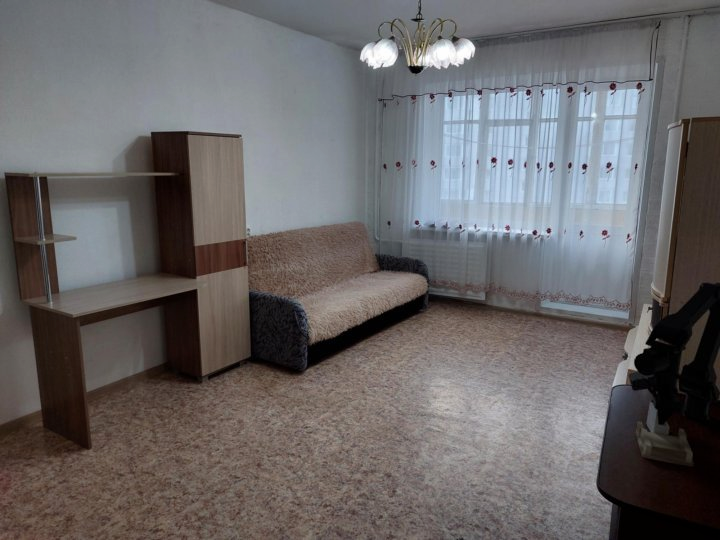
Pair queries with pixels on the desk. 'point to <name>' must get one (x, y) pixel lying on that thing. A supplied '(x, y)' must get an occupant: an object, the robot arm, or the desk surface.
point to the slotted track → (664, 446)
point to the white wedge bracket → (656, 422)
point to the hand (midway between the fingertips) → (658, 419)
